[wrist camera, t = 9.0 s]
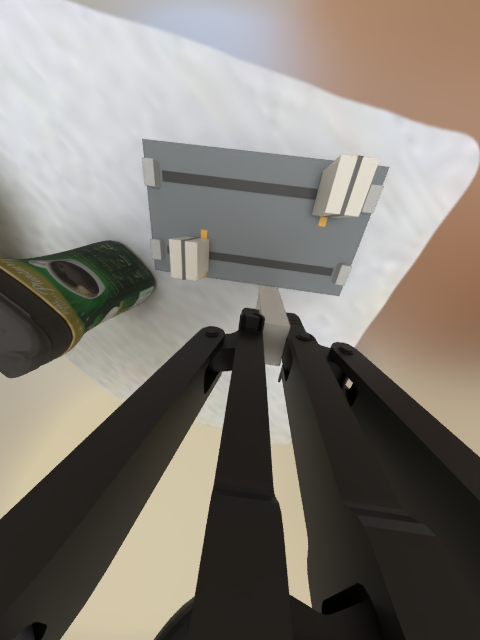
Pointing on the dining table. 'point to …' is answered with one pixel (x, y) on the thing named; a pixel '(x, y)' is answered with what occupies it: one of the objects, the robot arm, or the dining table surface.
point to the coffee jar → (63, 300)
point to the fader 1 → (189, 257)
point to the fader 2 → (344, 186)
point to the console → (252, 215)
